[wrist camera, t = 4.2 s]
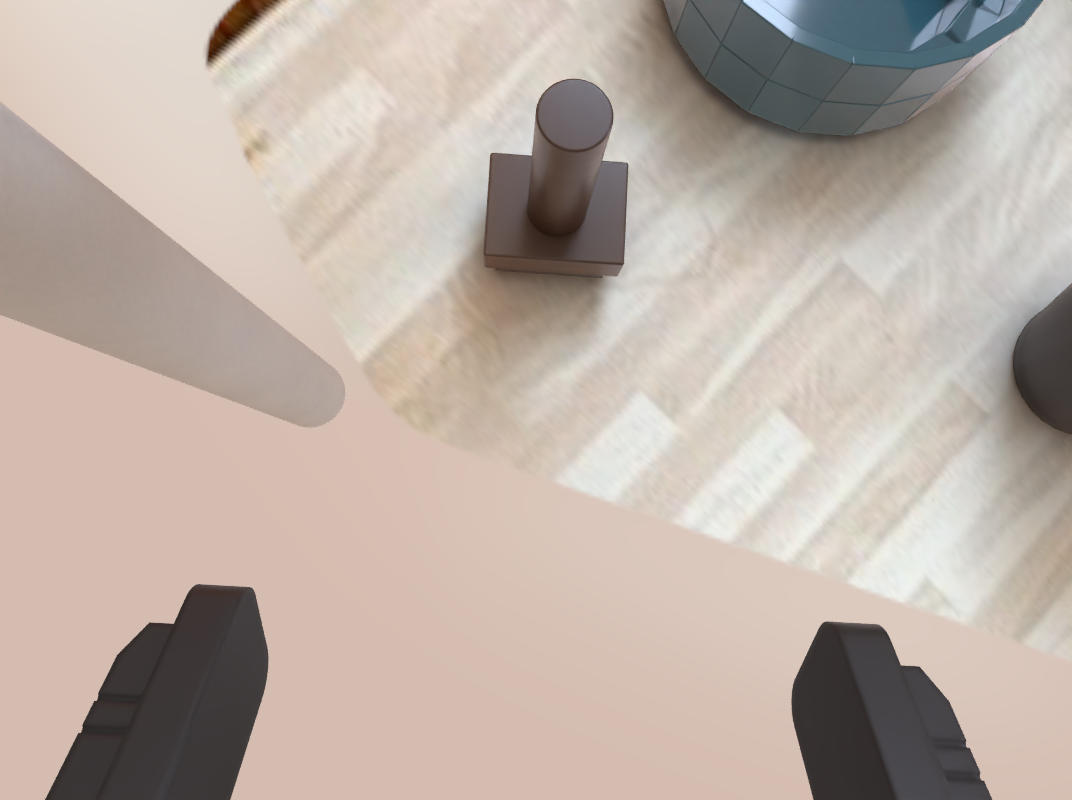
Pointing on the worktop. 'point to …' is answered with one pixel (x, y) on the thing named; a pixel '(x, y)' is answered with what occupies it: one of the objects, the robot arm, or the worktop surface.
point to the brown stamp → (560, 192)
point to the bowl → (841, 55)
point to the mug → (1048, 363)
